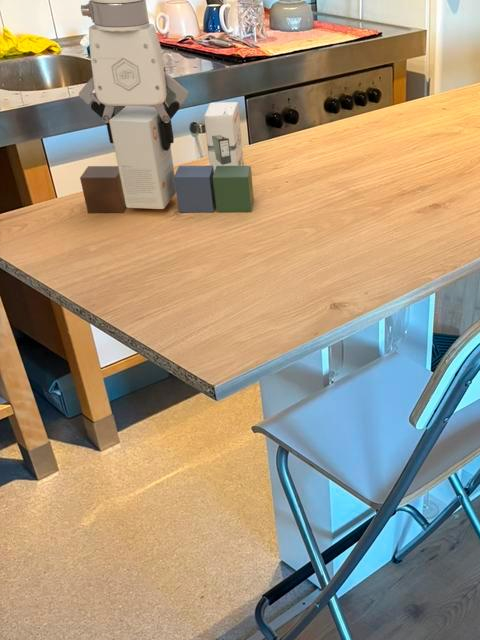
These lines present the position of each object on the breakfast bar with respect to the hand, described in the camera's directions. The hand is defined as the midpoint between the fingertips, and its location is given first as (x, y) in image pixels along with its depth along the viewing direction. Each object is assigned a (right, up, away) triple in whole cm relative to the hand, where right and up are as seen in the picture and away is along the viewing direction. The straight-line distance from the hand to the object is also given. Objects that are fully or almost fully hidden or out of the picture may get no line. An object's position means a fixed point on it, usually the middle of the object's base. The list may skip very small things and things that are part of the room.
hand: (143, 147), depth 126 cm
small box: (0, -6, +5) cm, 8 cm away
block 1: (-7, -7, +6) cm, 12 cm away
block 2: (+7, -7, +6) cm, 12 cm away
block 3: (+13, -7, +7) cm, 16 cm away
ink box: (+10, +1, +16) cm, 19 cm away
